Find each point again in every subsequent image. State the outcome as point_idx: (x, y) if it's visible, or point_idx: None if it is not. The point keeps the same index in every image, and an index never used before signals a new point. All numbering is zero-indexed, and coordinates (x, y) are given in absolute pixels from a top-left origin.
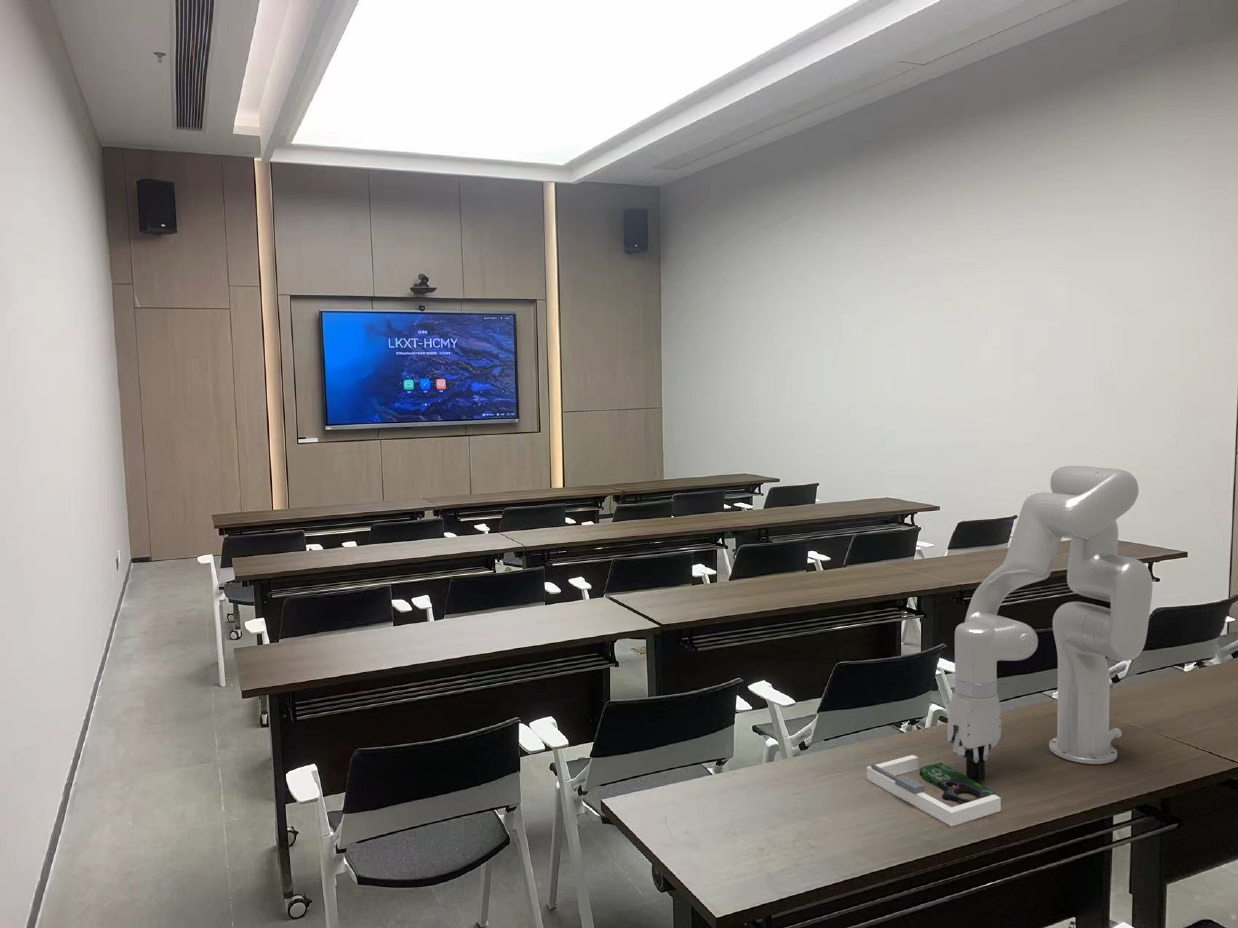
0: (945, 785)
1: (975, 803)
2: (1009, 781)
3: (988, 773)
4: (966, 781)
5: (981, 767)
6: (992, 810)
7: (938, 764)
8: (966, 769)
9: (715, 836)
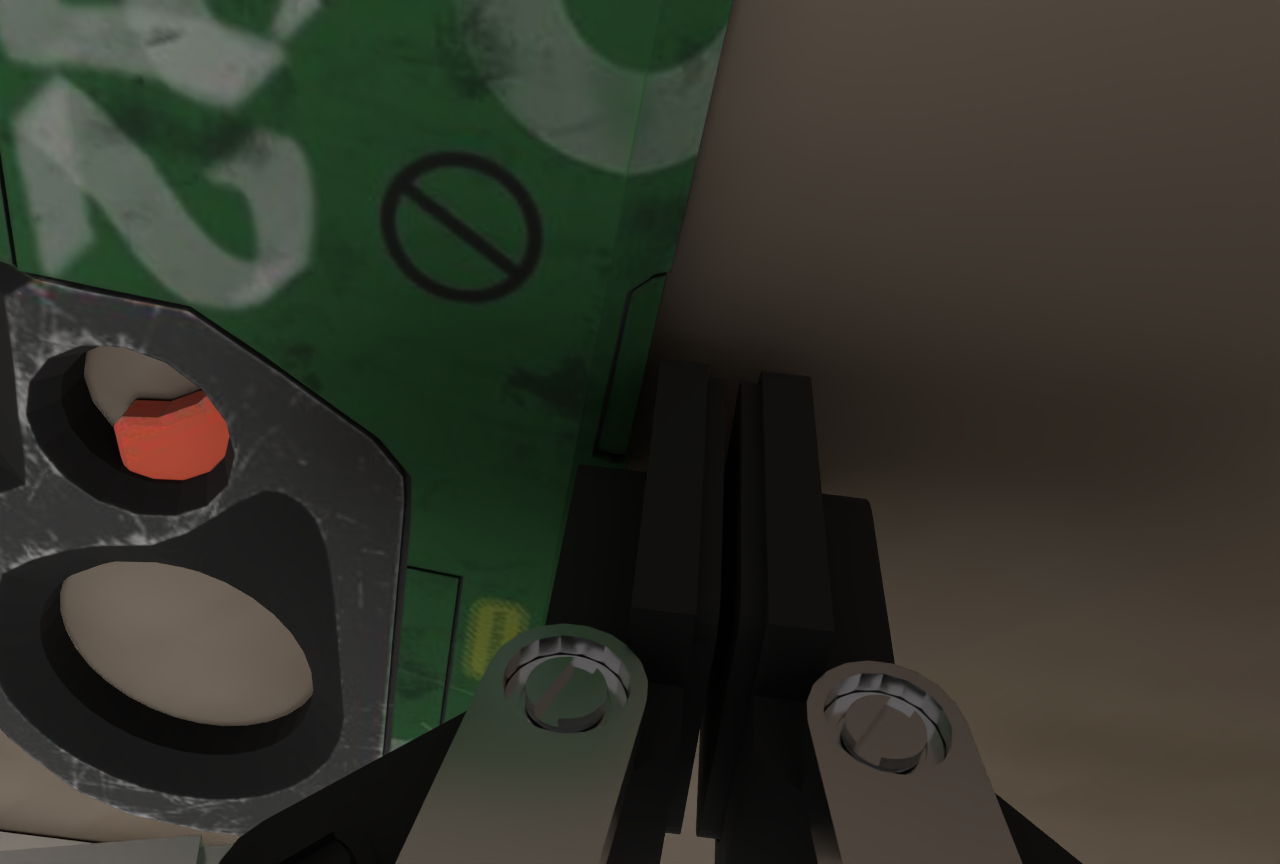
0: (17, 405)
1: None
2: (1099, 689)
3: (1176, 400)
4: (432, 510)
5: (702, 744)
6: None
7: None
8: (656, 420)
9: None
